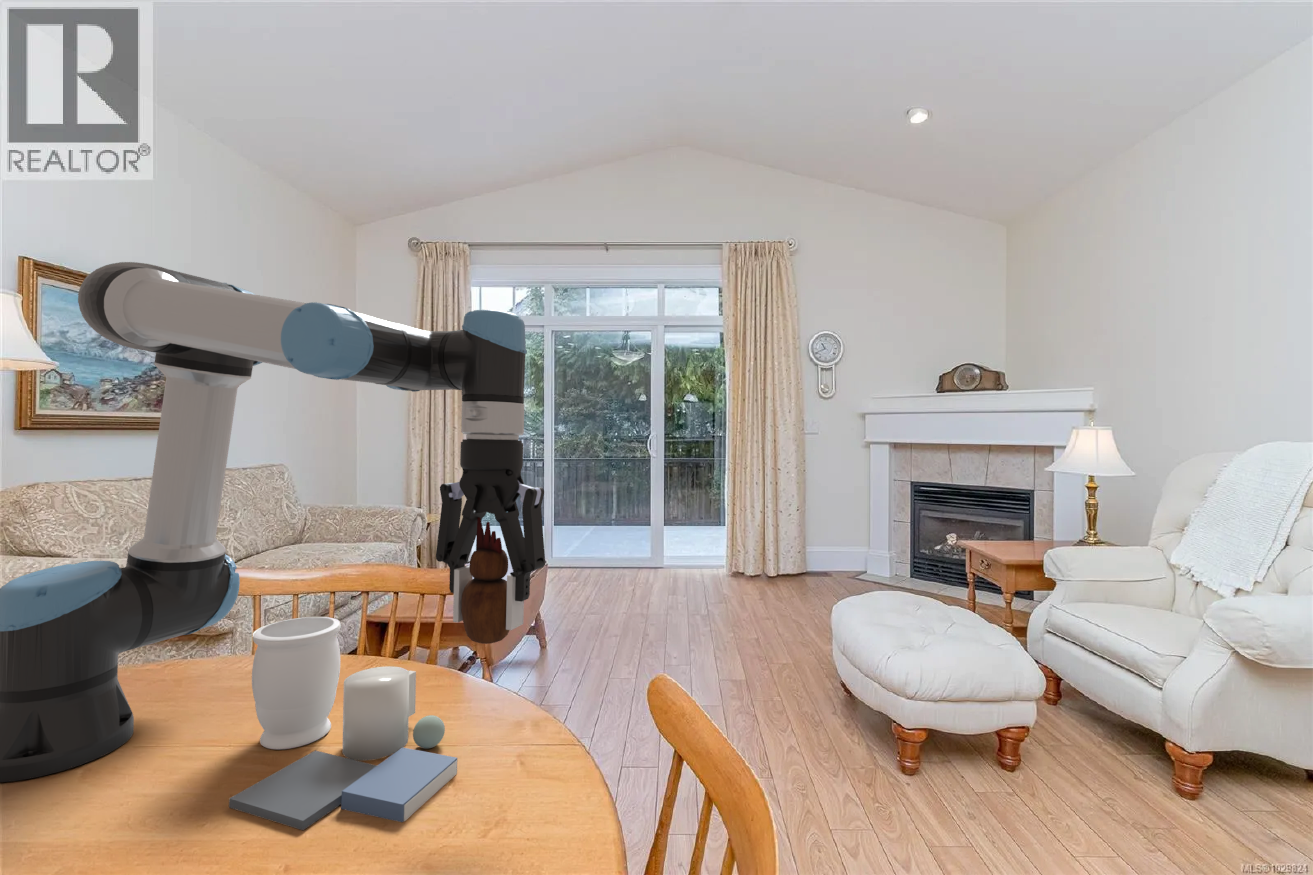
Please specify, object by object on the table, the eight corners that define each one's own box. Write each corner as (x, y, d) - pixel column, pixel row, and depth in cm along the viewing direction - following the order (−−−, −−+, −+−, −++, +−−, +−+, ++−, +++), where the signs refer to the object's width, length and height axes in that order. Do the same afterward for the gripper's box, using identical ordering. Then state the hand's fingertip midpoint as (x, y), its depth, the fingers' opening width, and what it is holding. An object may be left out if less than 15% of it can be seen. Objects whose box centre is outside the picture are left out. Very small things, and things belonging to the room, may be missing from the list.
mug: (328, 753, 78) (329, 684, 78) (389, 718, 88) (390, 656, 88) (376, 765, 75) (377, 694, 75) (434, 727, 85) (435, 664, 85)
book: (341, 812, 66) (341, 791, 66) (401, 766, 76) (402, 747, 76) (403, 827, 64) (403, 804, 64) (457, 777, 74) (458, 757, 74)
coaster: (228, 807, 66) (229, 798, 66) (315, 758, 77) (315, 750, 77) (302, 830, 62) (303, 820, 63) (383, 775, 73) (383, 767, 73)
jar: (298, 760, 76) (300, 642, 76) (230, 750, 78) (232, 635, 78) (355, 721, 86) (357, 618, 87) (294, 714, 89) (296, 613, 89)
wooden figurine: (453, 636, 74) (456, 516, 75) (496, 628, 78) (499, 513, 78) (476, 652, 69) (479, 523, 69) (521, 642, 73) (524, 520, 73)
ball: (405, 751, 79) (406, 720, 79) (426, 737, 82) (427, 708, 82) (430, 757, 77) (431, 726, 77) (450, 742, 81) (451, 712, 81)
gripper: (406, 435, 74) (401, 621, 74) (548, 439, 67) (543, 643, 67) (446, 436, 81) (442, 606, 81) (578, 439, 74) (573, 624, 74)
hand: (488, 622), depth 74 cm, fingers closed on wooden figurine, 7 cm apart
